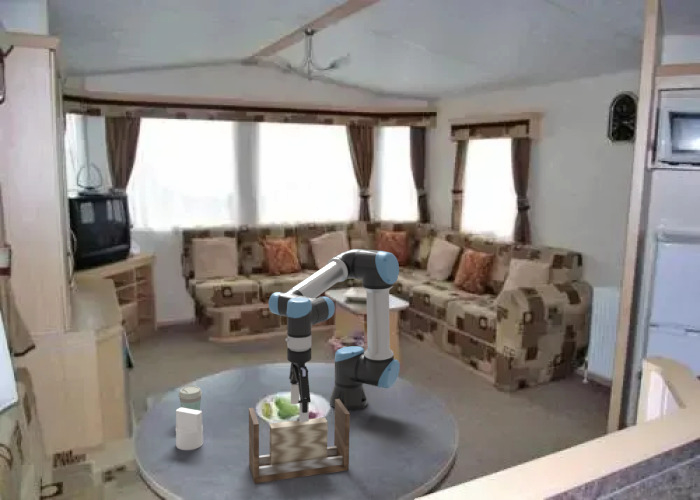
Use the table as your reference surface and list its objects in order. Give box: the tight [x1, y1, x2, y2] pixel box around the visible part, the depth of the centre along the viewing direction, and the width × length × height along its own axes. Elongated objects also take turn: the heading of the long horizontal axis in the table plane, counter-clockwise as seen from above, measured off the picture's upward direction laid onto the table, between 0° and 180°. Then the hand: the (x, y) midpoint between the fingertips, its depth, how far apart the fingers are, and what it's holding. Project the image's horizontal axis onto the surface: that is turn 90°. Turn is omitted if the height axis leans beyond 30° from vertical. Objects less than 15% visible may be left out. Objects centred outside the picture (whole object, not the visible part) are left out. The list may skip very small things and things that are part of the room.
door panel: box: [269, 417, 329, 465], centre depth 185 cm, size 18×4×14 cm, turn 107°
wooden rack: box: [248, 399, 351, 484], centre depth 185 cm, size 30×12×19 cm, turn 107°
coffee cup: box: [178, 385, 203, 411], centre depth 218 cm, size 8×8×12 cm
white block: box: [175, 406, 204, 451], centre depth 200 cm, size 9×9×12 cm
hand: (299, 412), depth 184 cm, fingers open, 13 cm apart
